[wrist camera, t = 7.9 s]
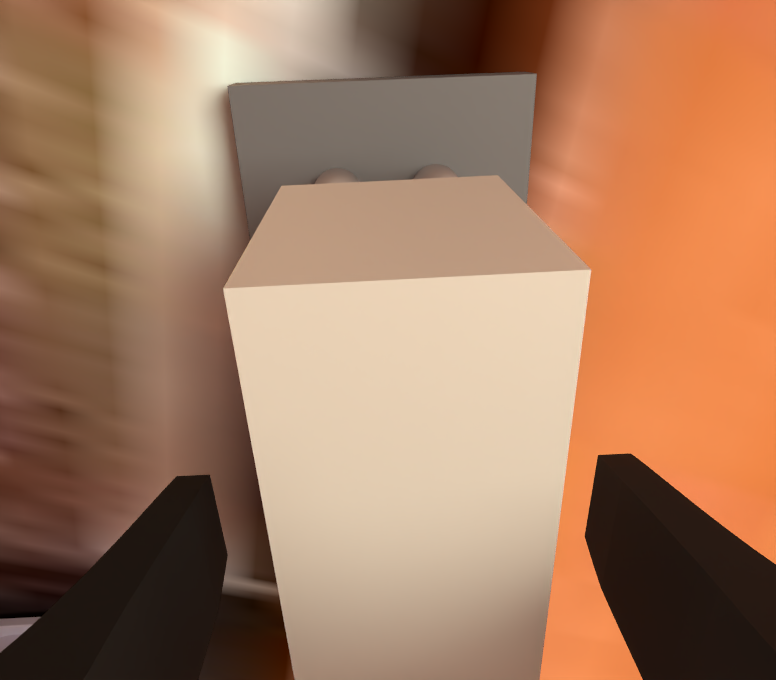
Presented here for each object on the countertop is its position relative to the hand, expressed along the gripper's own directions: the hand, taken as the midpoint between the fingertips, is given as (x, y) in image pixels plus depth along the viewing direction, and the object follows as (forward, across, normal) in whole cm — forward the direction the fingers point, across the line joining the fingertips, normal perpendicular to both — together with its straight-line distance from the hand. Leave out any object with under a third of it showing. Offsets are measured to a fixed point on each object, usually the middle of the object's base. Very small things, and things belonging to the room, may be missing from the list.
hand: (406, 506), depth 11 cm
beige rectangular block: (+3, 0, 0) cm, 3 cm away
